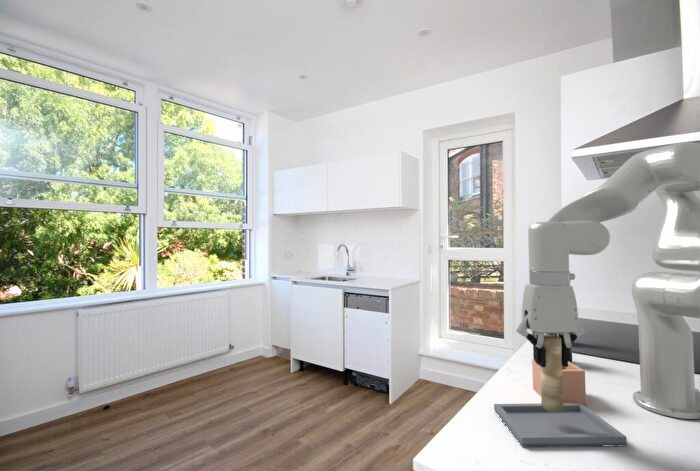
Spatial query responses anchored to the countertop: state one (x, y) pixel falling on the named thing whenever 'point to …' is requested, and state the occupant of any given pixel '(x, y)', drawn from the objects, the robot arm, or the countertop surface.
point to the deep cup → (565, 382)
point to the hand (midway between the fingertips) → (551, 363)
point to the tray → (558, 426)
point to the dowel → (552, 375)
